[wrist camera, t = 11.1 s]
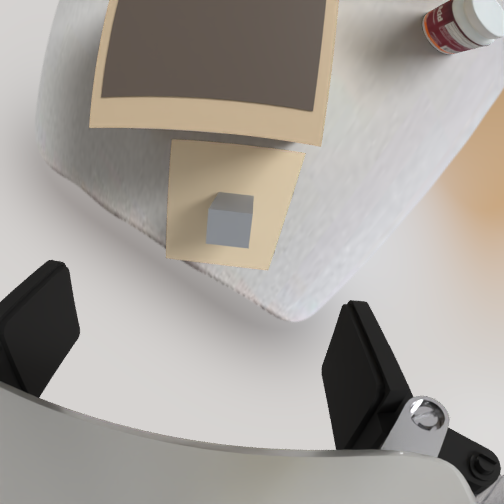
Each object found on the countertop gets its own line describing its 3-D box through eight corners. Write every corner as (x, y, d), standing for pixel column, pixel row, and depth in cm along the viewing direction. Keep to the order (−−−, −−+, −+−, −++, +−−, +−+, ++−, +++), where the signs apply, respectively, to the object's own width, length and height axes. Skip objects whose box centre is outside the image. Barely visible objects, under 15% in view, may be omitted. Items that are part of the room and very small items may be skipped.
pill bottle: (433, 3, 19) (479, -22, 11) (466, 37, 20) (518, 23, 12) (412, 28, 20) (460, 3, 12) (448, 64, 21) (502, 52, 13)
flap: (173, 138, 25) (148, 142, 19) (312, 153, 26) (328, 161, 20) (167, 256, 29) (146, 288, 23) (292, 270, 30) (300, 306, 24)
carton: (169, -15, 19) (130, -68, 10) (316, -5, 20) (343, -62, 10) (146, 127, 25) (88, 129, 15) (297, 141, 25) (321, 148, 15)
